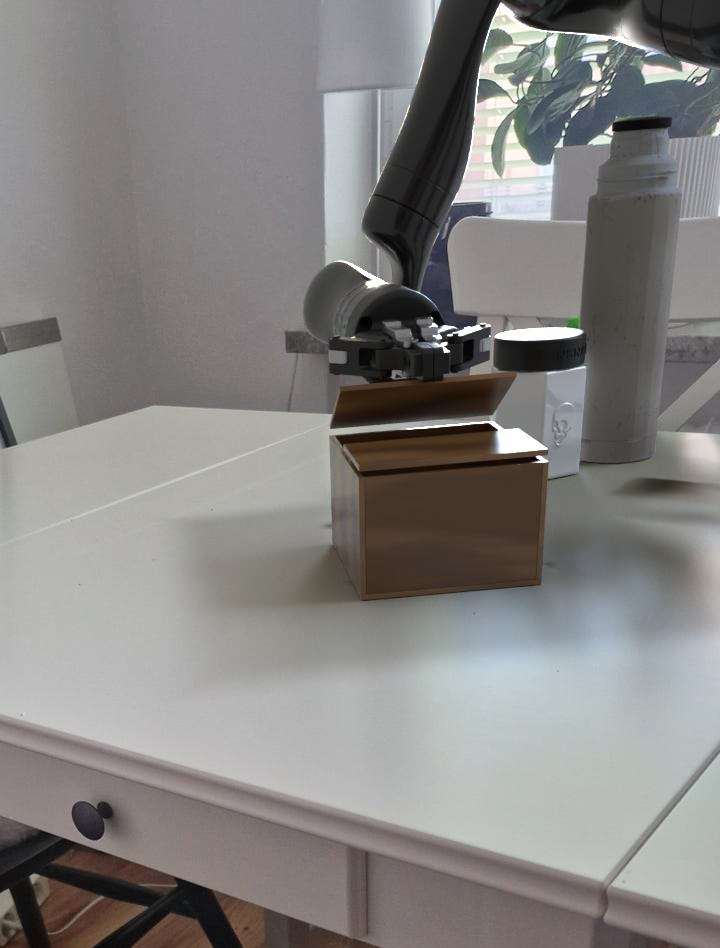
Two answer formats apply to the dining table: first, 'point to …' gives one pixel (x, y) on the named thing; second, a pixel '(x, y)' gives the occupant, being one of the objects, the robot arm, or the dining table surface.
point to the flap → (420, 400)
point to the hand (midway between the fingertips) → (434, 365)
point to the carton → (438, 509)
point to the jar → (544, 390)
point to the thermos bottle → (628, 291)
